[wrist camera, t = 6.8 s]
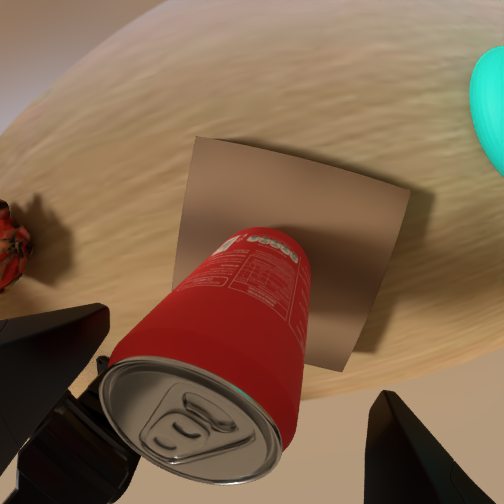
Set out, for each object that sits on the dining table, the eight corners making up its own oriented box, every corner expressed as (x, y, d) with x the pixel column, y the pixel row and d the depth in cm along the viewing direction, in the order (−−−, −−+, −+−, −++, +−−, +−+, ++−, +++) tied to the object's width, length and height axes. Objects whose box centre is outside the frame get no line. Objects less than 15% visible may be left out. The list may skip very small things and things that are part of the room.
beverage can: (331, 266, 17) (342, 450, 5) (269, 324, 18) (209, 501, 7) (260, 202, 16) (140, 299, 5) (204, 268, 18) (72, 404, 7)
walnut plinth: (340, 351, 21) (342, 372, 18) (182, 305, 22) (168, 321, 20) (399, 186, 17) (411, 191, 15) (210, 138, 18) (196, 136, 16)
